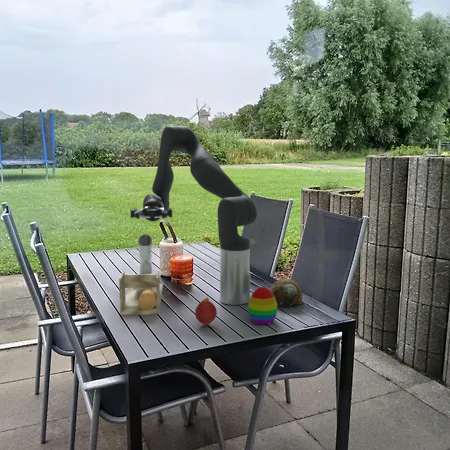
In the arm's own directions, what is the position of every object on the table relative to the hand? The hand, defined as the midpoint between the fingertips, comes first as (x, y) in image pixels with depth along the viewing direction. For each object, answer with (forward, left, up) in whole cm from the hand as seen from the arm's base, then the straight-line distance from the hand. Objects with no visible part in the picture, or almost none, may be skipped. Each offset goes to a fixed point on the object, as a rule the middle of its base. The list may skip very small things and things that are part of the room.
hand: (150, 215), depth 152 cm
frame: (+2, +10, -26) cm, 28 cm away
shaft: (+2, +4, -22) cm, 23 cm away
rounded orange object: (0, +20, -22) cm, 30 cm away
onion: (-17, +33, -26) cm, 45 cm away
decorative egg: (-33, +31, -26) cm, 52 cm away
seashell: (-43, +17, -26) cm, 53 cm away
